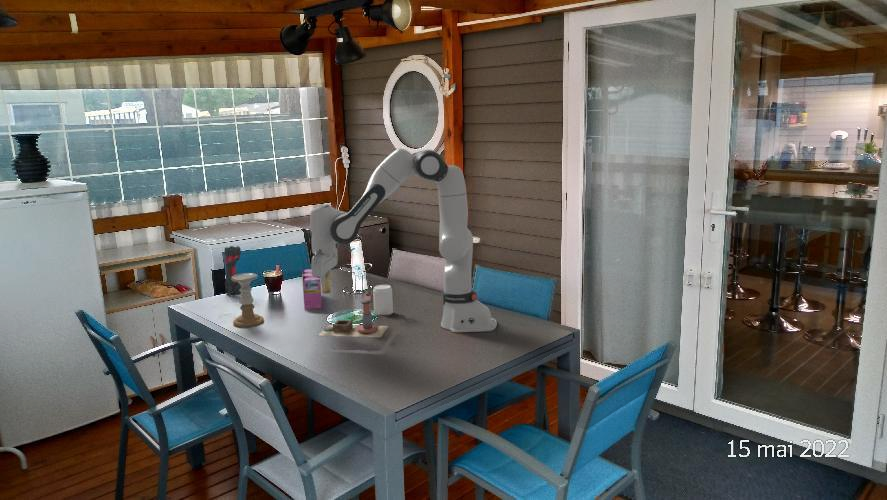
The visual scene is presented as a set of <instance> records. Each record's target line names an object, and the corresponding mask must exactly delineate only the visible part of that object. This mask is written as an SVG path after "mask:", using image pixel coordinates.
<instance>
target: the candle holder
mask: <svg viewBox="0 0 887 500" xmlns="http://www.w3.org/2000/svg"><path fill="white" fill-rule="evenodd" d="M256 279H258V274H257V273H252V272H251V273H250V272H246V273H245V272H244V273H236V275H234V276H232V277H231V280H232V281H236V282H238V283H239V284H240V285H241V288H240V290H239V291H240V292H241V293H240V299H239V303H240V304H241V305H240V306H239V309H240V310H241V315H239V316H238V317H236V318H235V319H234V320H233V321H232V324H233V326H234V327H237V328H251V327H256V326H259V325H261V324H262V323H264V321H265V319H264V316H262V315H259V314H258V313H254V308H255V305H254V304H253V303H254V298H253V295H252V290H253V289H252V287H251V286H250V284H251V282H252V281H253V280H256Z"/></svg>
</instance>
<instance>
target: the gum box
mask: <svg viewBox="0 0 887 500" xmlns="http://www.w3.org/2000/svg"><path fill="white" fill-rule="evenodd" d="M301 271H302V273H301V275H302V276H301V277H302V278H301V279H302V280H301V281H302V293H303V306H304V307H303V308H304V310H317V309H322V308H323V303H322V301H323V300H322V284H321V279H320V277H313V276H312V270H311V268H310V269H306V268H302V269H301Z"/></svg>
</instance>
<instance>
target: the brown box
mask: <svg viewBox="0 0 887 500" xmlns="http://www.w3.org/2000/svg"><path fill="white" fill-rule="evenodd" d="M332 325H333V332H340V333H348V332H349V331H350V330H351V329H352V328H353V325H354V323H353V320H351V319H350V320H345V319H338V320H336V321H335V322H334V323H333V324H332Z"/></svg>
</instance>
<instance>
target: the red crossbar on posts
mask: <svg viewBox="0 0 887 500" xmlns="http://www.w3.org/2000/svg"><path fill="white" fill-rule="evenodd" d="M360 303H361V304H362V309H363V311H362V312H361V316H362V324H361V325H362V326H359V327H358V328H357V331H358V332H360V333H373V332H376V331H377V330H378V326H379V325H375V324H373V317H372V315H373V314H372V311H371V308H372V294H371V292H366V293H365V296H364V299H363V300H361V301H360Z"/></svg>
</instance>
